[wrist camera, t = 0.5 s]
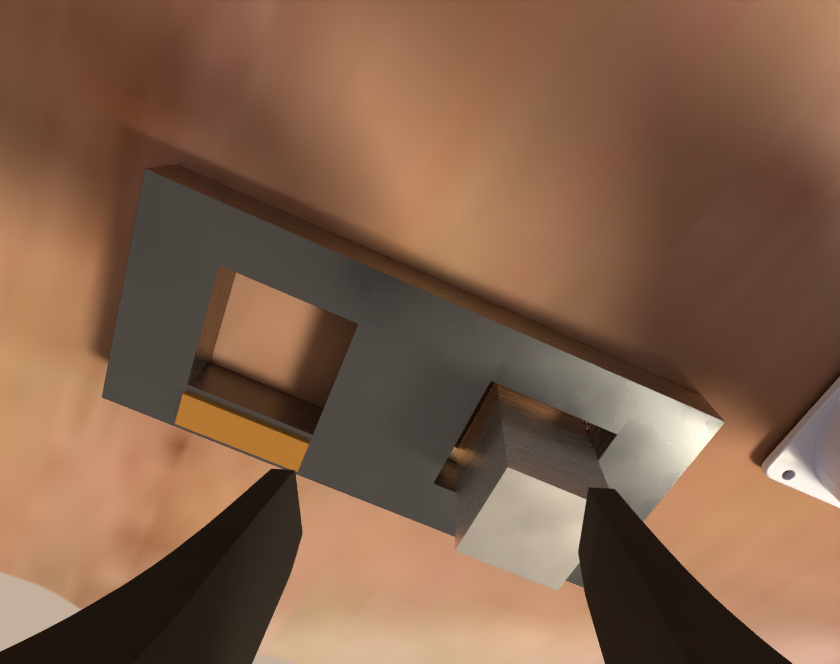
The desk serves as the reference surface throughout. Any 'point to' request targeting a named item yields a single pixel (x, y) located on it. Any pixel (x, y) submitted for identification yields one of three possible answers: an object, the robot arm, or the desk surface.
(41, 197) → the desk surface
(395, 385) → the grey board with holes
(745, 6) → the desk surface
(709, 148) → the desk surface
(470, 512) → the peg
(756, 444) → the desk surface
